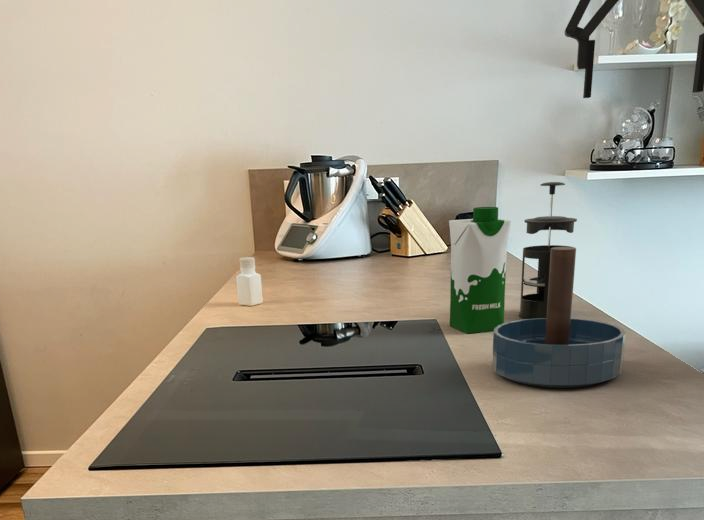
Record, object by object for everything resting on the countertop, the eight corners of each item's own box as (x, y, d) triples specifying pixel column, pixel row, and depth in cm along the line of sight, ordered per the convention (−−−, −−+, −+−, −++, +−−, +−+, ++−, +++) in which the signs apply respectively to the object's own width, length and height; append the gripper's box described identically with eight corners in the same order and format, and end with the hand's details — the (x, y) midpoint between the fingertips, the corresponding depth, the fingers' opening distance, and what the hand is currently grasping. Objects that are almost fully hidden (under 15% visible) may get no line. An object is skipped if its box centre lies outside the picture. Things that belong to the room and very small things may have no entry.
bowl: (612, 358, 115) (616, 317, 112) (628, 392, 99) (633, 346, 97) (493, 357, 118) (494, 317, 116) (490, 390, 103) (492, 345, 100)
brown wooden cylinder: (571, 363, 110) (581, 245, 104) (574, 372, 106) (584, 250, 100) (536, 363, 111) (543, 246, 105) (537, 372, 107) (545, 250, 100)
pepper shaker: (237, 305, 166) (233, 259, 162) (249, 302, 169) (246, 256, 165) (251, 306, 164) (247, 259, 160) (264, 303, 167) (260, 257, 163)
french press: (575, 321, 139) (586, 182, 130) (521, 322, 140) (528, 184, 131) (565, 308, 150) (574, 179, 141) (515, 309, 151) (521, 181, 142)
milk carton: (464, 335, 132) (467, 210, 124) (442, 325, 140) (443, 207, 132) (511, 330, 134) (517, 207, 126) (486, 320, 142) (490, 204, 134)
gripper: (554, -102, 92) (543, 98, 101) (785, -125, 87) (753, 87, 96) (551, -86, 99) (541, 101, 107) (765, -106, 94) (737, 91, 102)
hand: (641, 95), depth 102 cm, fingers open, 13 cm apart
